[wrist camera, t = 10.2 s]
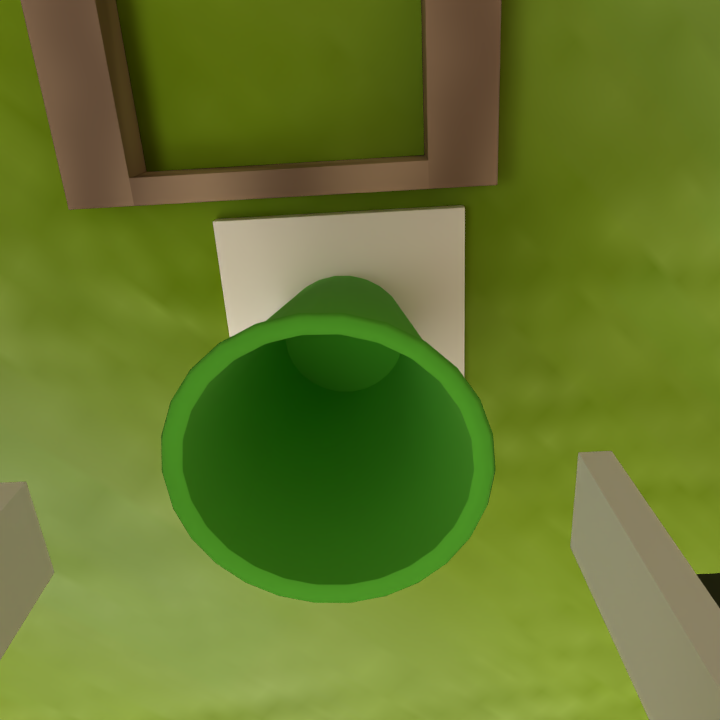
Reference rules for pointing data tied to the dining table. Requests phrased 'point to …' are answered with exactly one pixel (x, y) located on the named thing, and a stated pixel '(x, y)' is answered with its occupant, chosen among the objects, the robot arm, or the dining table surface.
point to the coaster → (351, 264)
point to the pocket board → (138, 187)
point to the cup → (328, 449)
